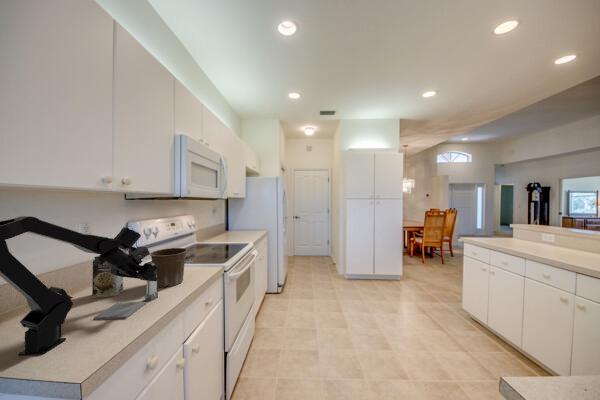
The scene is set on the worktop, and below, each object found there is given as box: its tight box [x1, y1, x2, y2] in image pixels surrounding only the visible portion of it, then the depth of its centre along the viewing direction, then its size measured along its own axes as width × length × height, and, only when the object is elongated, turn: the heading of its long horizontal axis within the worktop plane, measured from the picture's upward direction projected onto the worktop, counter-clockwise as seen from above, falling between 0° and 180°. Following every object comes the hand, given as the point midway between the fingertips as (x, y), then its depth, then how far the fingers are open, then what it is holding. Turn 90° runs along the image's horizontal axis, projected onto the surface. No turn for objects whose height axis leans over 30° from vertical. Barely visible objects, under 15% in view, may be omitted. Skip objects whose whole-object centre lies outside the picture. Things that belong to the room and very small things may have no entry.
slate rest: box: [93, 301, 147, 321], centre depth 83 cm, size 11×11×1 cm
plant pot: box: [149, 247, 188, 288], centre depth 111 cm, size 16×16×16 cm
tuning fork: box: [144, 270, 159, 302], centre depth 93 cm, size 3×3×12 cm
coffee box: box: [91, 259, 124, 299], centre depth 98 cm, size 9×6×16 cm
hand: (148, 278), depth 92 cm, fingers open, 9 cm apart
